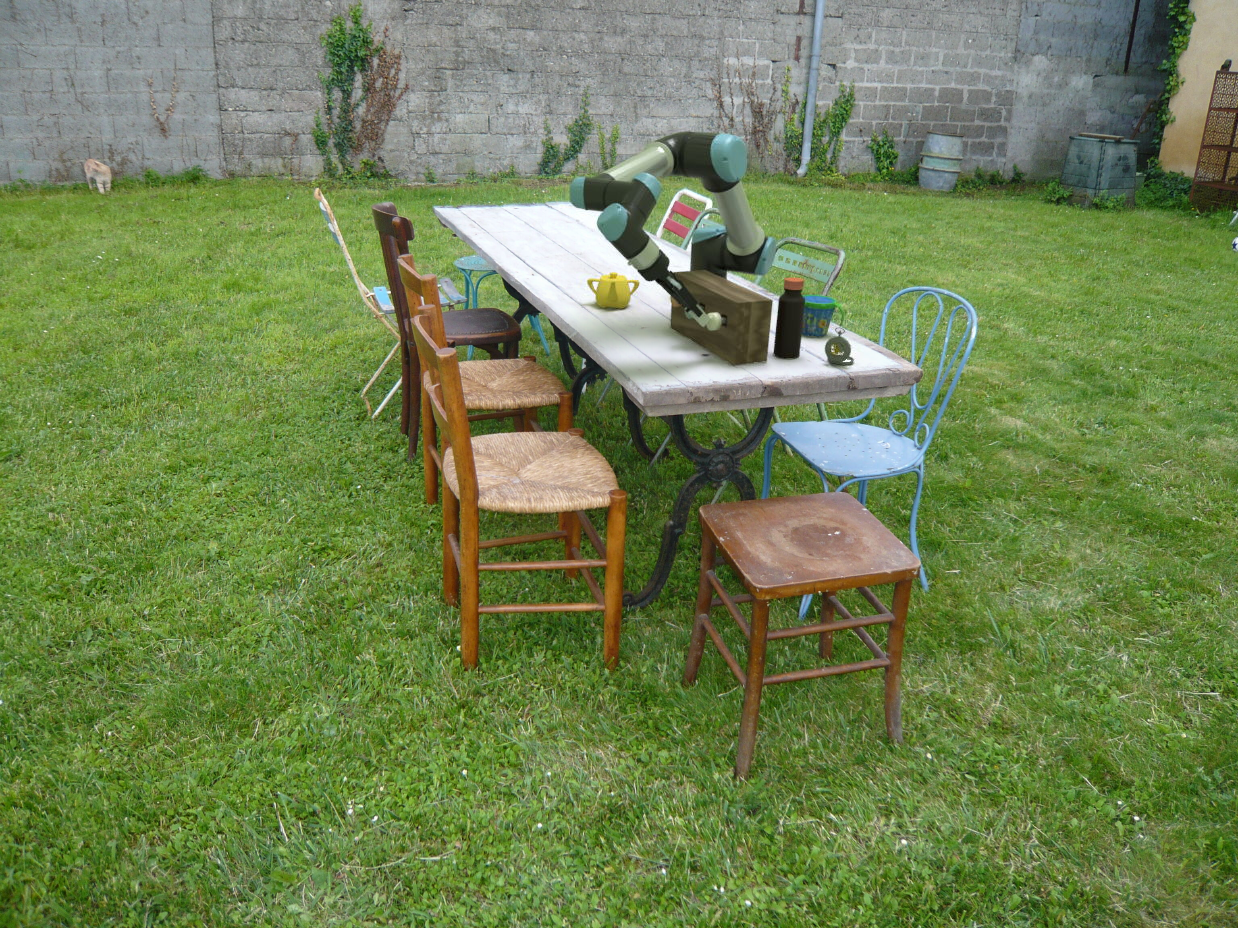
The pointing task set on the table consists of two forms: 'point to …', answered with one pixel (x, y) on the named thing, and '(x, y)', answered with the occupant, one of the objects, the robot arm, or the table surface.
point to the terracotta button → (674, 302)
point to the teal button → (690, 314)
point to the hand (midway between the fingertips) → (705, 322)
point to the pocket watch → (838, 349)
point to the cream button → (715, 321)
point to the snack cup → (819, 314)
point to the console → (744, 315)
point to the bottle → (790, 319)
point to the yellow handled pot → (613, 290)
